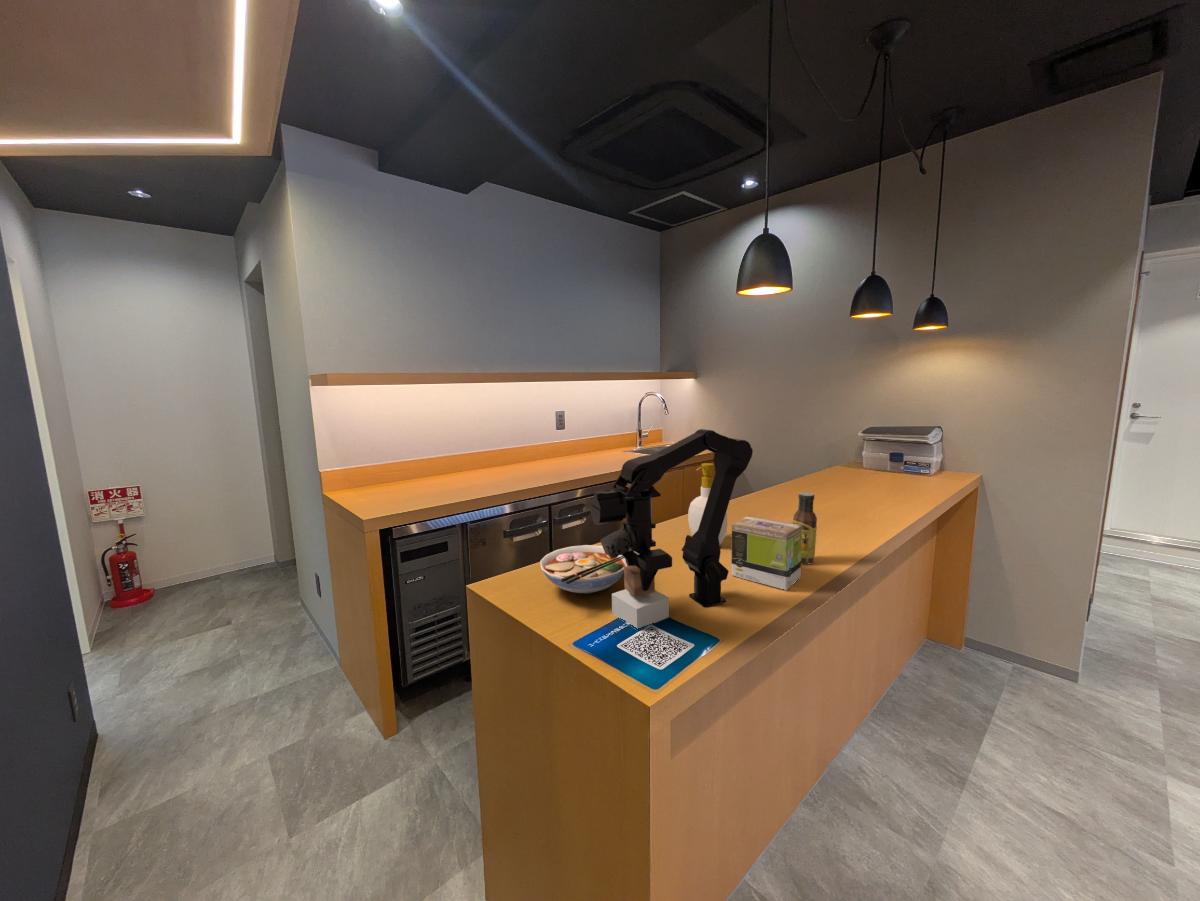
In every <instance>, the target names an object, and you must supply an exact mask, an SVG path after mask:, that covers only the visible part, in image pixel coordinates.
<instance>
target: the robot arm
mask: <svg viewBox="0 0 1200 901" xmlns="http://www.w3.org/2000/svg"><path fill="white" fill-rule="evenodd" d="M704 451H709V452H710V453H711V452H712V453H714V454H713V464H714V466H713V467H714V470H715V473H714V477H713V483H712V486H711V489H710V493H709V496H708V499H707V502H706V506H705V509H704V512H703V515H702V519H701V522H700V525H699V528H698V531H697V532H696V533H695V534H694V535H693V536H692V535H689V534H687V535H686V537H685V540H684V545H683V547H682V548H681V551H682V552H683V553H682V559H683V562H684V563H685V564H686V565H687V567H688V569H689V570H690V571H691V572H693V573H694V577H693V592H692V593H689V595H688V597H690V598H691V599H692V600H693V601H695V602H696V603H697V604H699V606H700V605H701V606H702V607H703V608H705V607H706V608H707V607H710V606H715V605H719V604H723V603H727V598H725V597H723V596H722V582H723V581H726V580H727V579H728V575H729V570H728V568H726V567H725V566H724V565H723V564H722V563H721V562H720V558H721V554H722V552H721V545H720V544H719V534H720V531H721V527H722V524H723V521H724V518H725V514H726V513H727V510H728V509H729V508H728V506H729V504H730V502H731V501H730V500H731V497H732V495H733V491H734V488H735V484H736V481H737V479H738V478H739V477H740V476H741V475H742V474H743V472H745V471H746V469H747V468H748V466H749V464H750V461H751V459H752V457H753V452H754V450H753V448H752V446H751V444H750V442H749V441H747V440H745V439H739V438H738V439H737V438H731V437H728V436H725V435H723V434H720V433H718V432H716V431H714V430H712V429H705V428H700V429H698V430H696V431H695V432H694V433H692V434H690V435H688V436H686V437H684V438H682V439H680V440H679V441H677V442H674V443H673V444H671V445H669V446H667V447H665V448H663V449H661V450H659V451H657V452H655V453H652V454H647V455H641V456H638V457H635V458H631V459H629V460H627V461H625V462H624V463H623V464H622V467H621V470H620V474H619V475H618V477H617V479H616V480H615V482H613V483H614V484H613V485H612V487H611V490H607V491H598V490H597V491H594V492H593V497H592V499H591V501H590V502H591V503H590V504H589V510H590V516H591V518H592V522H593V523H594V525H596V526H597V525H605V524H611V523H617V522H621V523H620V525H621V526H620V529H618V530H614V531H613V532H612V533H610V534H607V535H606V536H604V537H602V538H601V539H600V544H601V546H603V549H604V551H605V554H607V555H608V556H609V557H610V558H616V557H618V555H622V556H624V558H625V560H626V563H627V566H631V565H635V566H637V567H638V568H639V569H640V576H641V583H642V588H643V591H647V590H648V589H649V587H650V585H651V583H652V581H653V579H654V577H656V575H657V573H658V572H659V570H664V569H668V568H671V567H673V557H672V555H670V553H668V552H667V551H664V550H663V549H661V548H656V549H651V548H653V547H656V546H657V542H656V540H654V539H653V529H656V526H657V524H656V522H654V521H653V519H652V518H653V513H652V512H653V508H652V507H653V505H652V499H653V498H659V497H661V495H662V494H661V492H659V491H658V490H657V489H656V488H655V487H654V485H656V484H657V483H658V482H660V481H661V479H662V478H663V477H664V475H665V474H666V473H667V472H668V471H669V470H671V469H673V468H675V467H677V466H678V465H680V464H682V463H684V462H686V461H687V460H690V459H692V458H693V457H695V456H697V455H699V454H701V453H703V452H704ZM628 486H630V487H628ZM624 519H625V520H624Z"/></svg>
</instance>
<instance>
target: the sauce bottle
mask: <svg viewBox="0 0 1200 901" xmlns="http://www.w3.org/2000/svg"><path fill="white" fill-rule="evenodd" d="M814 500H815V494H814V493H813V492H809V491H801V492H799V493H798V509H797V510H796V512H795V513H794V514H793V520H792V523H793V524H799V525H802V544H801V563H802V564H801V565H809V564H808V563H812V562H813V563H814V561H815V557H816V556H815V555H816V542H817V529H818V528H817V523H818V522H817V521H818V517H817V516H816V513H815V512H814ZM813 563H812V564H813Z"/></svg>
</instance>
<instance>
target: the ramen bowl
mask: <svg viewBox="0 0 1200 901" xmlns="http://www.w3.org/2000/svg"><path fill="white" fill-rule="evenodd" d="M539 564H540V568H541V570H542V572H543V575H545V576H546V577H547V579H548V580H549V581H550V582H551V583H552V584H554V585H555V586H556V587H558V588H559V589H561V590H563V591H567V592H571V593H577V594H582V593H583V595H584V594H586V595H587V594H592V593H597V592H600V591H603V590H606V589H608V588H610V587H611V586H612V585H614V584H616V583H617V582H619V580H620V579H621V577H622V576H624V567H626V566H627V563H626V560H625V558H624V556H622V555H618V557H616V558H610V557H609V556H608V555H607V554H605V551H604V549H603V546H602V545H593V544H590V545H589V544H582V545H573V546H572V545H571V546H567V547H563V548H559V549H556V550H553V551H551V552H549V553H547V554H546V555H544V556H543V557H542V559H540V561H539Z"/></svg>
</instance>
